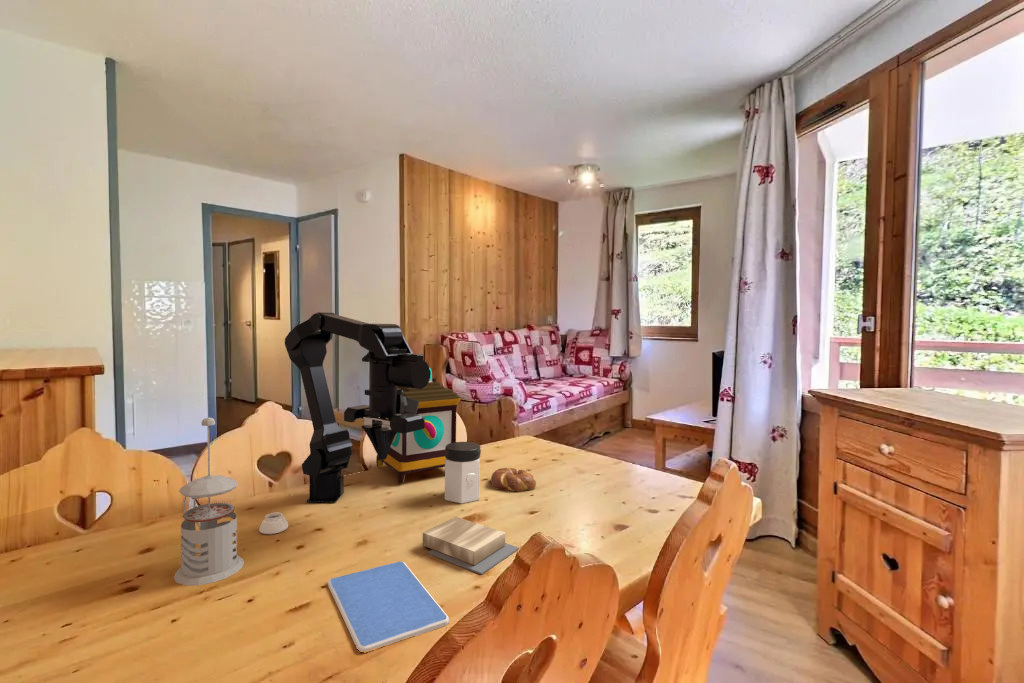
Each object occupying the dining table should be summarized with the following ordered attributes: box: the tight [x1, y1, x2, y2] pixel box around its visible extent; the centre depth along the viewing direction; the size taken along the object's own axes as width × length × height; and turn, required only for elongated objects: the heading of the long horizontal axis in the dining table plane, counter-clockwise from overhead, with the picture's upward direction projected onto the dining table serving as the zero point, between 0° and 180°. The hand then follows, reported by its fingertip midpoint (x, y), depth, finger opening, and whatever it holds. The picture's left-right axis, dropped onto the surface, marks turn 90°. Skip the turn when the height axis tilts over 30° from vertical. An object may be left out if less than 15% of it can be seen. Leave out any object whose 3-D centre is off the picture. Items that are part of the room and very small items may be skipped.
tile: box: [422, 516, 507, 565], centre depth 89 cm, size 2×9×12 cm
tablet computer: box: [327, 561, 450, 652], centre depth 72 cm, size 19×13×1 cm, turn 32°
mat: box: [427, 542, 520, 575], centre depth 88 cm, size 12×11×1 cm
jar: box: [444, 441, 482, 504], centre depth 114 cm, size 9×8×12 cm
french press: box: [173, 417, 245, 586], centre depth 80 cm, size 10×12×25 cm
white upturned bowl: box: [258, 511, 289, 535], centre depth 95 cm, size 5×3×5 cm
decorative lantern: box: [375, 366, 461, 485], centre depth 132 cm, size 20×20×30 cm
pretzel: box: [490, 467, 537, 492], centre depth 123 cm, size 12×11×4 cm
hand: (383, 459), depth 102 cm, fingers closed
